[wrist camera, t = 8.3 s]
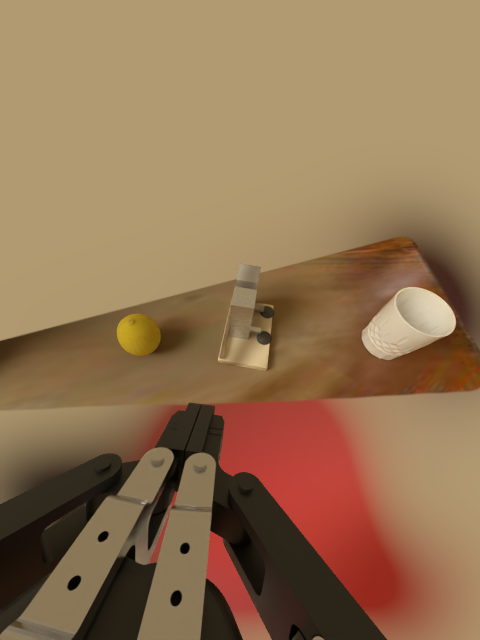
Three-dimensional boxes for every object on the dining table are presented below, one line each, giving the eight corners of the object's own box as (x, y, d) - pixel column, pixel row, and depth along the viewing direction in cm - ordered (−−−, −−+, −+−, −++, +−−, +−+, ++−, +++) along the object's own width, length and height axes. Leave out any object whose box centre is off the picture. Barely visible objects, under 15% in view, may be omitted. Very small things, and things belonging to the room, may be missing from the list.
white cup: (374, 369, 36) (420, 343, 28) (349, 327, 40) (382, 293, 31) (414, 356, 38) (469, 328, 29) (386, 317, 42) (428, 282, 33)
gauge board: (218, 362, 36) (215, 332, 27) (231, 302, 41) (233, 261, 33) (267, 370, 35) (280, 343, 26) (273, 309, 41) (286, 270, 32)
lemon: (162, 327, 38) (148, 299, 31) (168, 356, 36) (155, 333, 29) (127, 336, 37) (105, 309, 30) (131, 367, 34) (108, 346, 28)
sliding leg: (229, 336, 36) (230, 304, 29) (232, 320, 38) (234, 286, 30) (259, 341, 36) (268, 310, 29) (261, 325, 38) (270, 292, 30)
